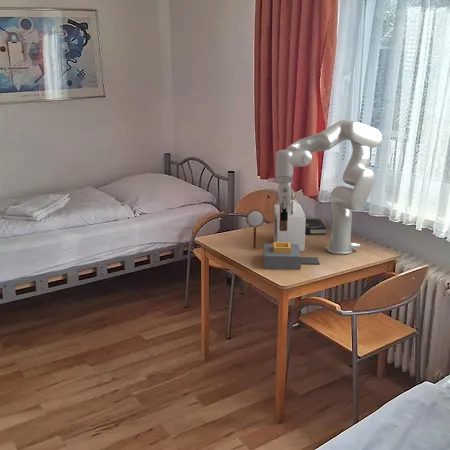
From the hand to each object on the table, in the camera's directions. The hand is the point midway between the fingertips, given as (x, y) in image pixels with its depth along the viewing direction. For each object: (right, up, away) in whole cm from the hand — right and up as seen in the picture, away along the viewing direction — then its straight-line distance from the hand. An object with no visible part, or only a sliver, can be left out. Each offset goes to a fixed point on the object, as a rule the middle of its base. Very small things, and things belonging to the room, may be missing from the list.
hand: (283, 218), depth 243 cm
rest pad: (+13, -19, +7) cm, 24 cm away
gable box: (+6, -12, +31) cm, 34 cm away
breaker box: (0, -20, +6) cm, 21 cm away
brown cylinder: (0, -5, +2) cm, 5 cm away
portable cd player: (+19, -6, +52) cm, 56 cm away
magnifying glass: (-12, -15, +23) cm, 30 cm away
